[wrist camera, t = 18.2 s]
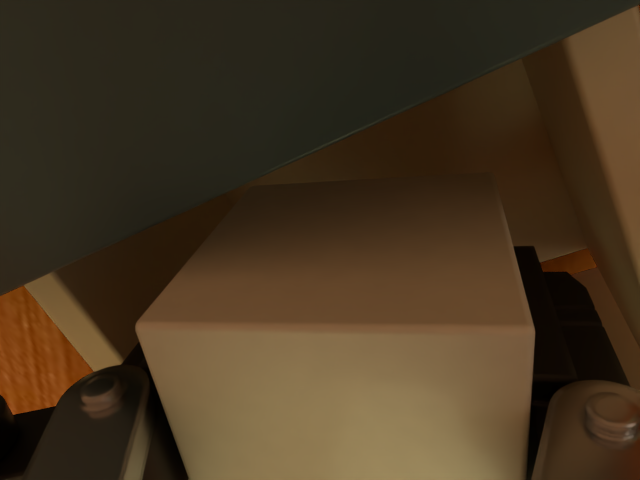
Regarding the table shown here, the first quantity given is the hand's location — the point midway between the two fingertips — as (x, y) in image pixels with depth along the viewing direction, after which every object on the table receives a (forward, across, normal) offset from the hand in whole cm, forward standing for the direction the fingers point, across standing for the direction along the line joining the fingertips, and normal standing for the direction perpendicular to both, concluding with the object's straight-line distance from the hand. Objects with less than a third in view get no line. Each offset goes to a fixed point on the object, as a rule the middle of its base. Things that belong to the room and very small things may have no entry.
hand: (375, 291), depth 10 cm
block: (0, 0, 0) cm, 0 cm away
